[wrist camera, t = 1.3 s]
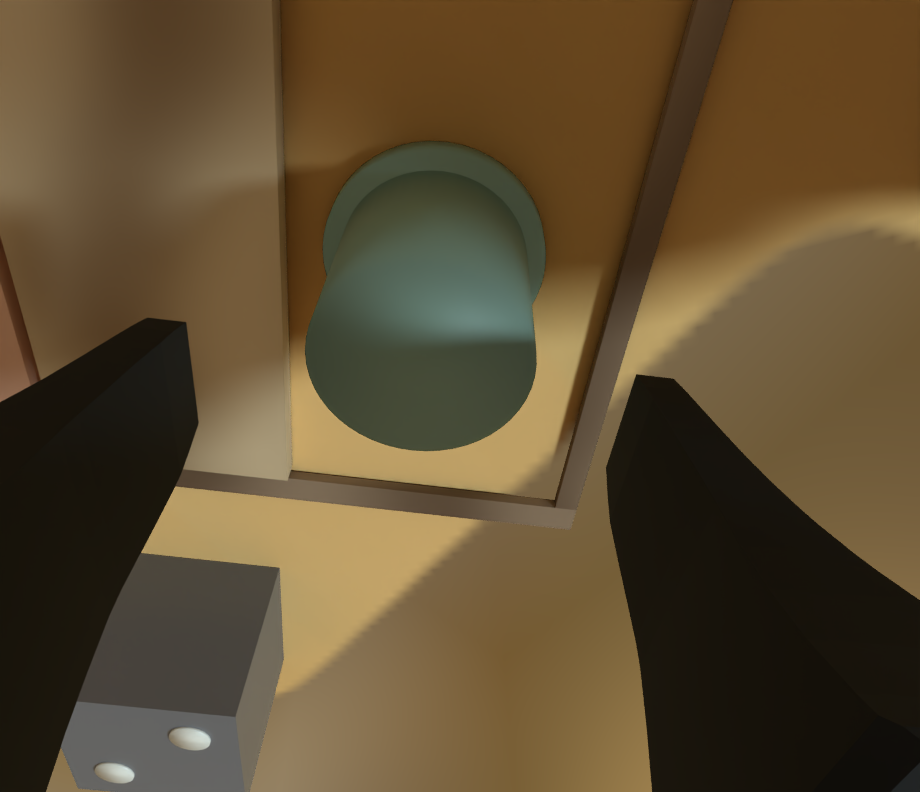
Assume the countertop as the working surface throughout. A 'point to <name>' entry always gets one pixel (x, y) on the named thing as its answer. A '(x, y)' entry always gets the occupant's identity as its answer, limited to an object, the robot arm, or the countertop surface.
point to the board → (225, 227)
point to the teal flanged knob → (428, 298)
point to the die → (180, 680)
